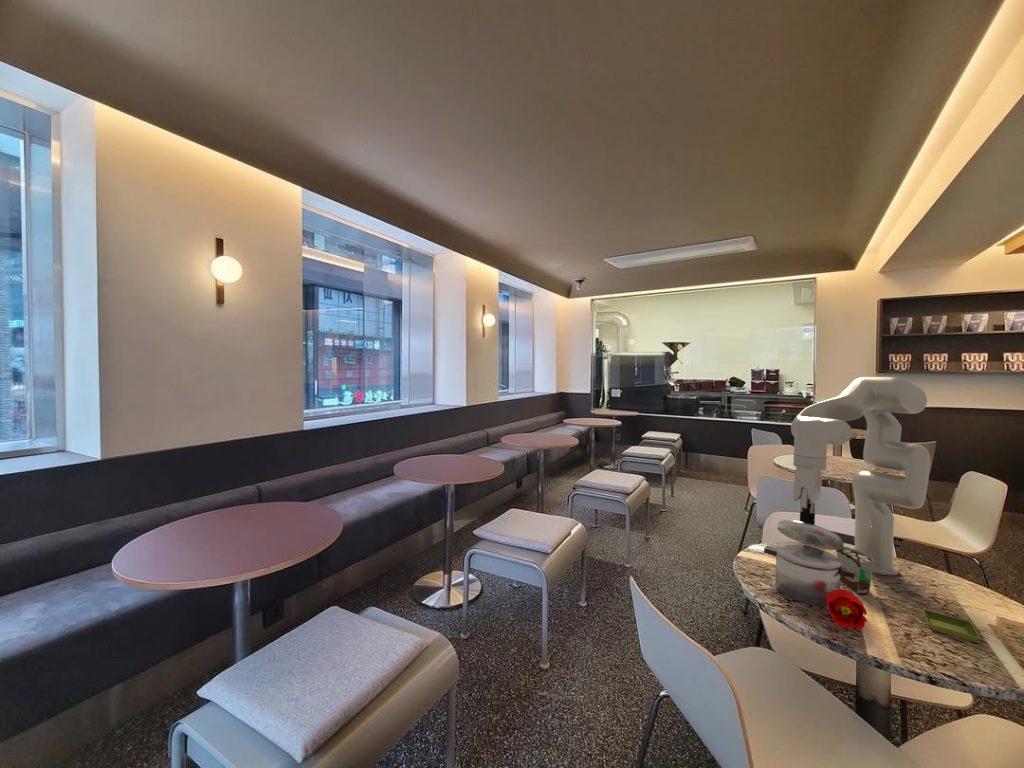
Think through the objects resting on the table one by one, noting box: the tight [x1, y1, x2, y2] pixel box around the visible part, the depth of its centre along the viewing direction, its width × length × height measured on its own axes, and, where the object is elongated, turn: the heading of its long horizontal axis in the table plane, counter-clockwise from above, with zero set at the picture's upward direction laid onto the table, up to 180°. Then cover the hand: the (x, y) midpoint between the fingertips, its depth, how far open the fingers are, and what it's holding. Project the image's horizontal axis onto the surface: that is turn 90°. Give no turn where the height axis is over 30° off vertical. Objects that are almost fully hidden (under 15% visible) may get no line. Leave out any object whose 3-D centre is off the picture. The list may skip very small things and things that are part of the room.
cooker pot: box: [763, 543, 856, 608], centre depth 116 cm, size 15×21×11 cm
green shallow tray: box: [921, 609, 981, 642], centre depth 99 cm, size 9×9×2 cm
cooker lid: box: [776, 519, 855, 551], centre depth 117 cm, size 16×18×3 cm
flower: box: [826, 588, 868, 630], centre depth 102 cm, size 8×8×8 cm
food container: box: [835, 546, 876, 596], centre depth 119 cm, size 12×6×10 cm, turn 168°
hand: (807, 525), depth 115 cm, fingers closed
